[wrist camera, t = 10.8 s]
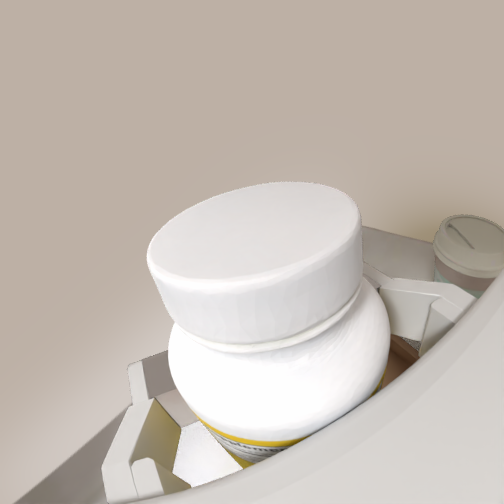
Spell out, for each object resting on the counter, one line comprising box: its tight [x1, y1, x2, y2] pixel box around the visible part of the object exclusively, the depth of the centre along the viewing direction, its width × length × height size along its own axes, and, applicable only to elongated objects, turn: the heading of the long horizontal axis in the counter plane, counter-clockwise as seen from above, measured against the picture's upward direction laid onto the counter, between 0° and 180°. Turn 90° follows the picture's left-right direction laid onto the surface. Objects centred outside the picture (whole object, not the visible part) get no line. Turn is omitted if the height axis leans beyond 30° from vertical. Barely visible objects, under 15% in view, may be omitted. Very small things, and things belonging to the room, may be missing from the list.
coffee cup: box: [433, 215, 504, 299], centre depth 22 cm, size 8×9×12 cm
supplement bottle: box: [147, 182, 390, 469], centre depth 8 cm, size 5×5×10 cm
